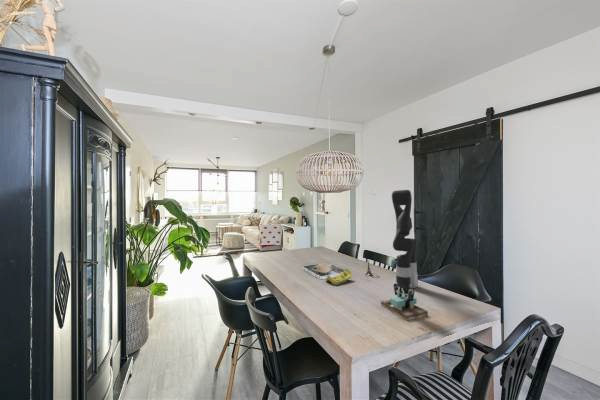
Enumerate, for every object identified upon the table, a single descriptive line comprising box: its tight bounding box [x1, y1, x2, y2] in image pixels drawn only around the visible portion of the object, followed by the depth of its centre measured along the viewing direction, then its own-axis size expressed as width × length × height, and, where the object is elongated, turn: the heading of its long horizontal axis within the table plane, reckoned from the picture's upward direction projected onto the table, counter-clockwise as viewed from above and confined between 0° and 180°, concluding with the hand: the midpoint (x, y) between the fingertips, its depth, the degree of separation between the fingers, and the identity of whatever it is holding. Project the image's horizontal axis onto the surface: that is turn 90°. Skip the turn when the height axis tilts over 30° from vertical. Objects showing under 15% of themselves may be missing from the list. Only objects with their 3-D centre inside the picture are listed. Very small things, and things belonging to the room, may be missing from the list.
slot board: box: [380, 299, 429, 321], centre depth 146 cm, size 14×20×2 cm
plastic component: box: [325, 268, 353, 286], centre depth 199 cm, size 20×7×10 cm
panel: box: [390, 295, 417, 311], centre depth 145 cm, size 13×5×6 cm, turn 110°
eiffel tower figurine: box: [364, 260, 380, 278], centre depth 212 cm, size 15×10×13 cm
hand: (403, 305), depth 145 cm, fingers closed on panel, 5 cm apart
